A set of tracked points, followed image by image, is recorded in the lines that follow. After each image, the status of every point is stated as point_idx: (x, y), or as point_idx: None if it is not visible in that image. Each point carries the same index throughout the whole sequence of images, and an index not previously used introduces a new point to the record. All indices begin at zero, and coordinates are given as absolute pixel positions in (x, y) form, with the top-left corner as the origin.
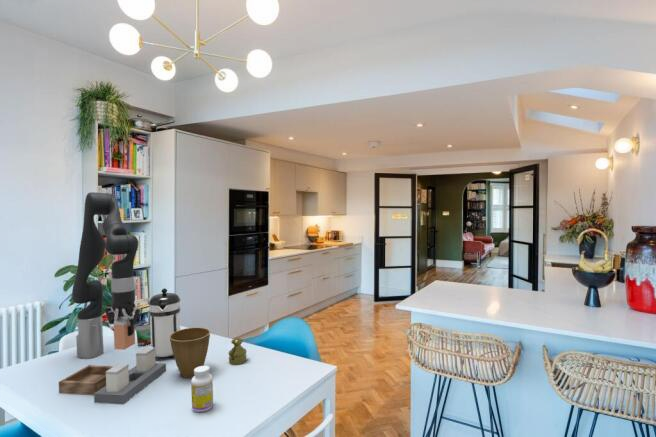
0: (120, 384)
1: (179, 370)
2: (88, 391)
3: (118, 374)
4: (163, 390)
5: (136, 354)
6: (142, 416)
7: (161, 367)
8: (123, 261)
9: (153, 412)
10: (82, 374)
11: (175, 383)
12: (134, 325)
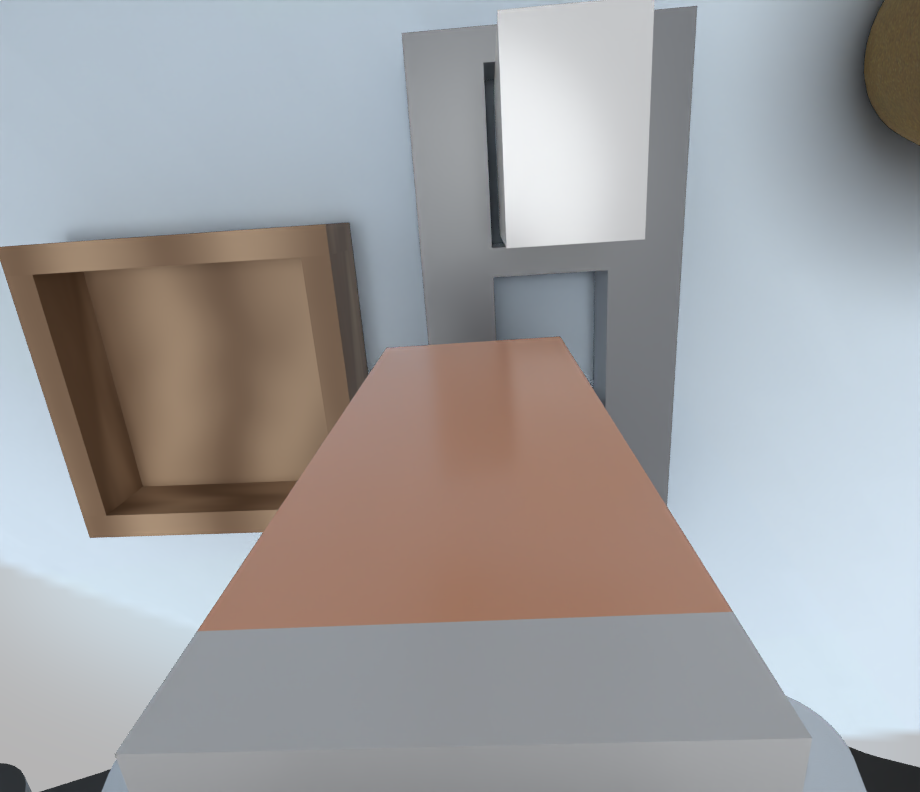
0: None
1: (912, 138)
2: None
3: None
4: (822, 373)
5: (511, 247)
6: (833, 639)
7: (687, 101)
8: None
9: (879, 603)
10: (80, 346)
11: (872, 259)
12: (651, 493)
